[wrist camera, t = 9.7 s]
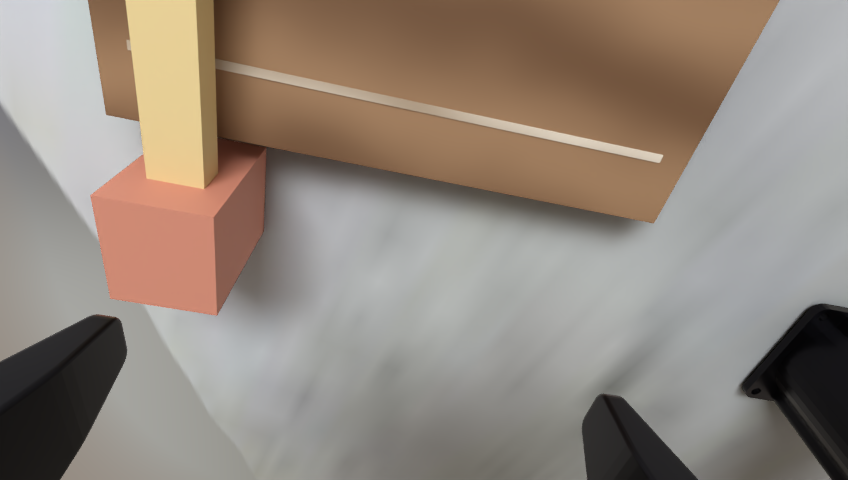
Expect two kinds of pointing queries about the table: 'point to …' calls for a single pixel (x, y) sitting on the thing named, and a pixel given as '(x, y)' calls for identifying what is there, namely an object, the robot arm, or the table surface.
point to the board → (473, 87)
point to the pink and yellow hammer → (179, 173)
